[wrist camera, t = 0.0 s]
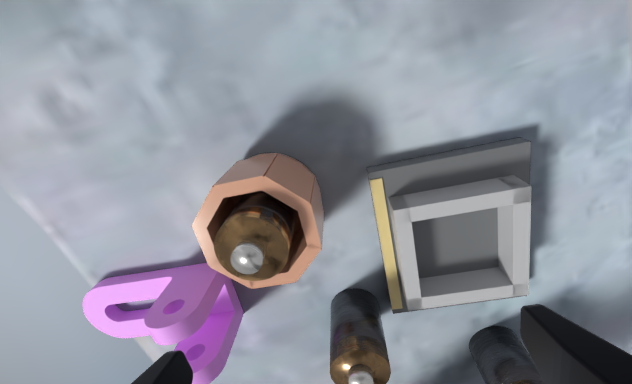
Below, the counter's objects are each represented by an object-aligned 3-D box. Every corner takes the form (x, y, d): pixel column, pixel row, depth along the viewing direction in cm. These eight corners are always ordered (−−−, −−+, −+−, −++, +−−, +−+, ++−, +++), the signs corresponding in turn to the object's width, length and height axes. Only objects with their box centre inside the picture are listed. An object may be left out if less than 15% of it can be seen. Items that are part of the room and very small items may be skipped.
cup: (330, 232, 24) (329, 277, 19) (243, 247, 25) (220, 293, 20) (309, 143, 21) (301, 167, 16) (213, 163, 22) (178, 192, 17)
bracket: (224, 258, 25) (187, 324, 19) (244, 311, 27) (217, 387, 21) (83, 280, 27) (4, 348, 21) (111, 329, 29) (48, 404, 23)
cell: (381, 322, 27) (397, 404, 20) (336, 328, 27) (336, 410, 21) (374, 285, 25) (388, 360, 19) (326, 292, 26) (323, 368, 19)
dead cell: (305, 223, 23) (294, 287, 16) (253, 232, 23) (222, 298, 17) (291, 171, 21) (273, 219, 15) (236, 183, 22) (195, 233, 15)
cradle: (518, 285, 25) (543, 315, 22) (390, 302, 26) (397, 333, 23) (520, 137, 20) (551, 149, 17) (366, 167, 22) (371, 183, 19)
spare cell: (517, 357, 28) (573, 448, 21) (470, 363, 28) (510, 452, 22) (517, 323, 26) (578, 408, 20) (467, 329, 27) (510, 414, 20)
